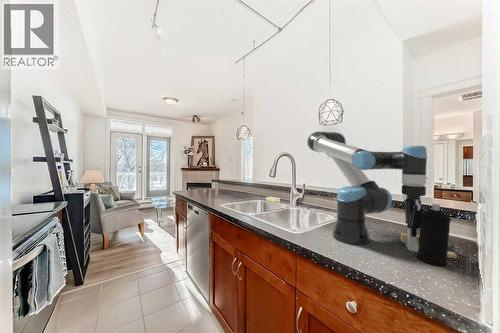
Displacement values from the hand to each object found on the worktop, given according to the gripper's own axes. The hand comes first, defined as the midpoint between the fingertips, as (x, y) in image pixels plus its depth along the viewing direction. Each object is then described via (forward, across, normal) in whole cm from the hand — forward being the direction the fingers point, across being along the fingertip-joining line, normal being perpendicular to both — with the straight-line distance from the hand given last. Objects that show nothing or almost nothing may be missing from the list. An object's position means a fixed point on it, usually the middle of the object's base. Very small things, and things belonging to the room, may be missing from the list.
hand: (412, 243), depth 83 cm
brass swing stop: (+1, +5, -3) cm, 6 cm away
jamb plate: (+2, +5, -3) cm, 6 cm away
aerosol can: (+2, -9, -3) cm, 10 cm away
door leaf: (+2, +4, -10) cm, 11 cm away
